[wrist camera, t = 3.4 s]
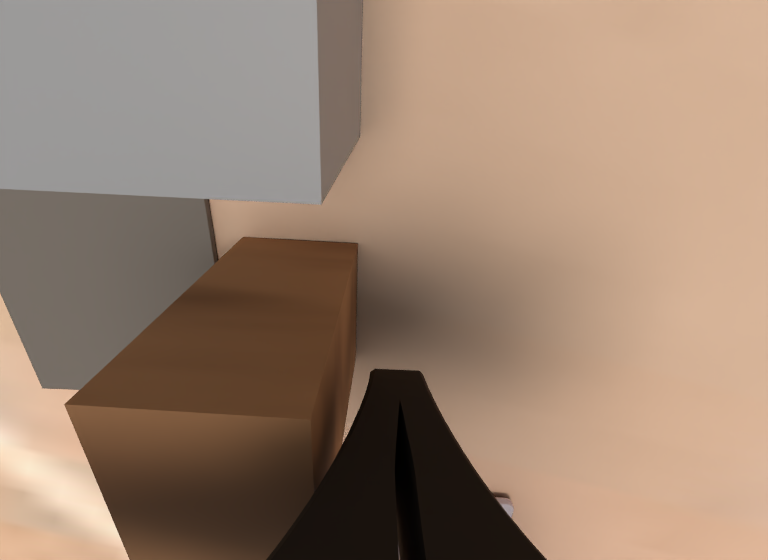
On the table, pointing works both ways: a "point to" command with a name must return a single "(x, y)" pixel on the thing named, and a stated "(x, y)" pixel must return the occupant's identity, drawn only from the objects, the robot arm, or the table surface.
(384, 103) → the table surface
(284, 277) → the walnut block
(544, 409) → the table surface
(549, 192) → the table surface
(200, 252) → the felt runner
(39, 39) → the slate block
